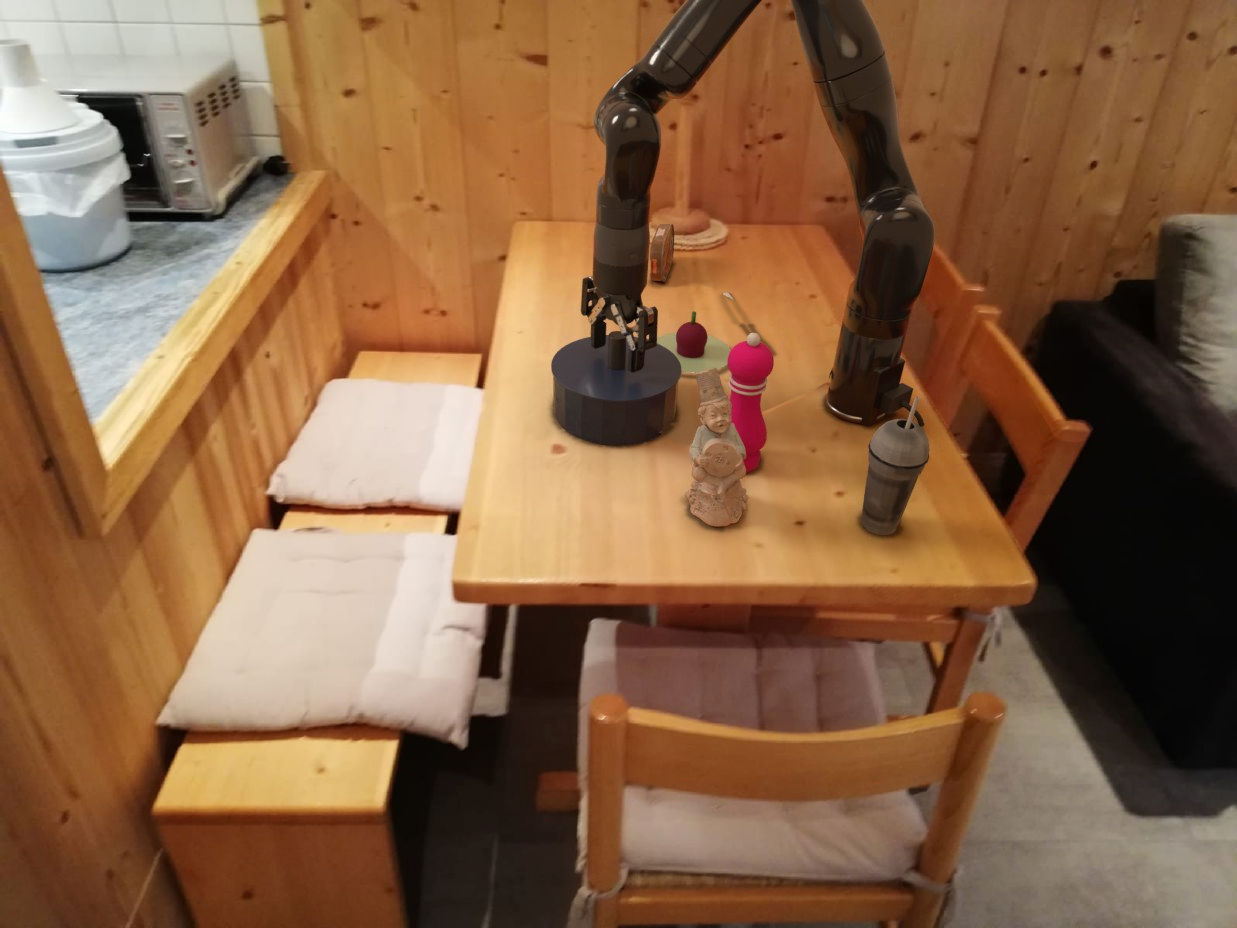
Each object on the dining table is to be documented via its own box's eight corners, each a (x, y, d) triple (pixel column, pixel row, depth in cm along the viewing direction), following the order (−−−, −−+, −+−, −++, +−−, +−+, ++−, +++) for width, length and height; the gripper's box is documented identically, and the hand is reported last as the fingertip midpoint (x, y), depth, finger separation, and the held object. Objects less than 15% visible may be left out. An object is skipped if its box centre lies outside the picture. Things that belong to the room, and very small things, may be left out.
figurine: (679, 488, 122) (691, 357, 110) (741, 487, 123) (760, 357, 111) (687, 530, 115) (702, 396, 103) (753, 529, 116) (775, 395, 104)
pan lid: (708, 379, 132) (712, 342, 129) (605, 421, 122) (607, 383, 119) (625, 329, 144) (626, 294, 140) (525, 363, 134) (524, 327, 130)
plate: (749, 360, 151) (750, 356, 151) (687, 386, 144) (687, 381, 143) (692, 328, 160) (692, 324, 159) (631, 350, 152) (631, 346, 152)
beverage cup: (899, 506, 121) (935, 376, 109) (915, 542, 115) (955, 409, 103) (844, 505, 120) (875, 375, 109) (858, 542, 114) (892, 408, 103)
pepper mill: (721, 478, 124) (738, 349, 112) (703, 449, 130) (718, 323, 118) (770, 471, 126) (792, 344, 114) (750, 442, 131) (769, 318, 120)
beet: (712, 353, 151) (716, 313, 147) (689, 362, 148) (693, 321, 144) (691, 341, 154) (695, 301, 150) (668, 349, 151) (671, 309, 147)
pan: (700, 418, 136) (705, 375, 132) (603, 460, 126) (605, 415, 122) (623, 368, 147) (625, 327, 143) (529, 404, 138) (528, 360, 133)
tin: (662, 289, 172) (665, 247, 167) (646, 287, 173) (648, 245, 168) (674, 258, 184) (677, 218, 179) (659, 256, 185) (661, 216, 180)
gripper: (677, 264, 120) (668, 371, 129) (610, 229, 128) (606, 332, 138) (633, 277, 116) (627, 387, 125) (567, 241, 125) (566, 345, 134)
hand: (616, 358), depth 132 cm, fingers open, 8 cm apart
